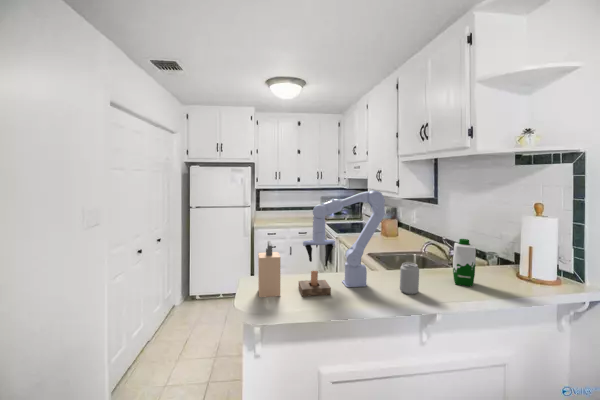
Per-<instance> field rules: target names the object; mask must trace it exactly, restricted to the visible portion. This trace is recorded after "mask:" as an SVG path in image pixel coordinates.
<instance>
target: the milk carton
mask: <svg viewBox="0 0 600 400" xmlns="http://www.w3.org/2000/svg"><path fill="white" fill-rule="evenodd" d="M476 248H477V247H476V246H475V245H474V244H473V243H470V239H468V238H459V241H458V242H454V244H453V255H452V256H453V259H452V275H453V282H454V284H455V285H457V286H462V285H465V286H464V287H470V286H473V287H474V281H475V276H476V255H477V252H476V251H477V250H476Z"/></svg>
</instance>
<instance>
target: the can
mask: <svg viewBox="0 0 600 400" xmlns="http://www.w3.org/2000/svg"><path fill="white" fill-rule="evenodd" d="M418 266H419V265H418V264H416V263H414V262H403V263H401V266H400V268H399V269H400V270H399V271H400V272H399V274H400V275H399V290H400V291H401V293H403V294H406V295H416V294H417V293H419V291H420V289H419V285H420V284H419V283H420V267H418Z"/></svg>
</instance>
